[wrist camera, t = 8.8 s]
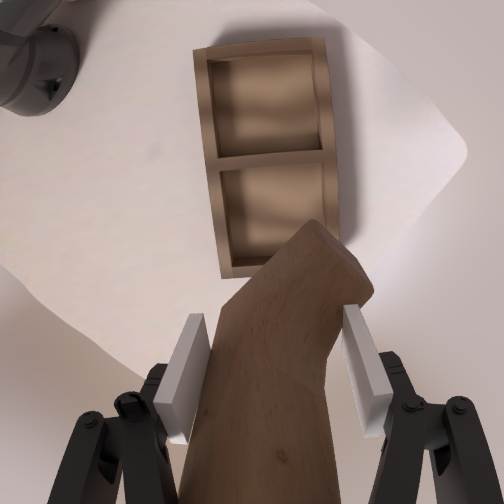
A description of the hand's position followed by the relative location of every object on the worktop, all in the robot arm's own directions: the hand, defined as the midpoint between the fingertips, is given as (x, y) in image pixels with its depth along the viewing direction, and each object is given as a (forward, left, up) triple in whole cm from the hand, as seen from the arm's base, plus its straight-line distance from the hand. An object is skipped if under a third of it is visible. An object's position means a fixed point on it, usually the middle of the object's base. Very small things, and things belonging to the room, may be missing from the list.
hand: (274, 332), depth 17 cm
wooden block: (0, +1, -5) cm, 5 cm away
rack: (-7, 0, -27) cm, 28 cm away
